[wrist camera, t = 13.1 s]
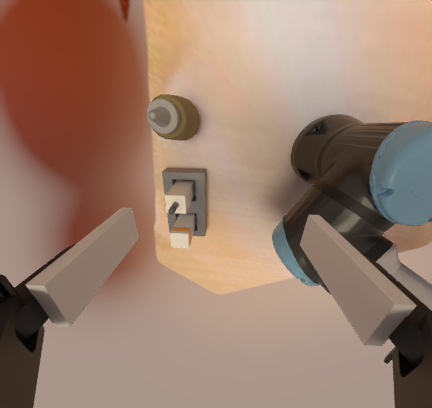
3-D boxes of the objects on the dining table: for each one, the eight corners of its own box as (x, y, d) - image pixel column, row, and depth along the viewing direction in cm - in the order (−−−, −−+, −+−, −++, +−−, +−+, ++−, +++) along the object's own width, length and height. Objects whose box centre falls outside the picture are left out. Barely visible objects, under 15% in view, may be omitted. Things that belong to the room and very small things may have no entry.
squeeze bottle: (204, 135, 38) (190, 142, 22) (172, 142, 39) (135, 153, 23) (196, 95, 35) (173, 68, 19) (161, 103, 36) (109, 85, 20)
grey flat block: (206, 169, 42) (204, 173, 38) (206, 228, 49) (205, 236, 46) (167, 168, 42) (162, 171, 38) (173, 226, 50) (169, 234, 46)
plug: (196, 222, 47) (189, 248, 37) (182, 222, 47) (171, 247, 38) (196, 210, 46) (188, 233, 36) (181, 209, 46) (169, 232, 36)
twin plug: (194, 179, 42) (181, 202, 29) (194, 193, 44) (182, 221, 31) (178, 178, 42) (159, 201, 29) (179, 193, 44) (162, 220, 31)
